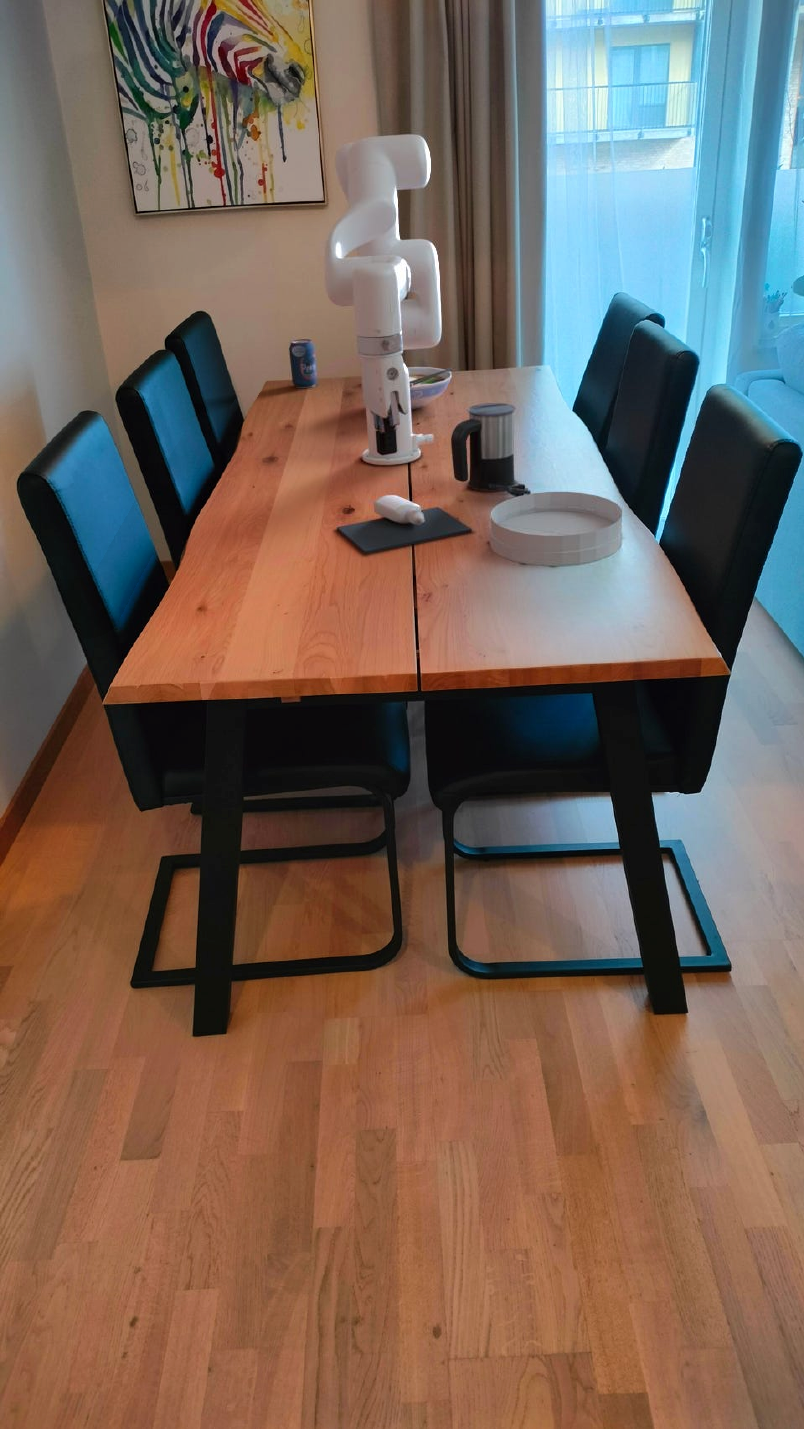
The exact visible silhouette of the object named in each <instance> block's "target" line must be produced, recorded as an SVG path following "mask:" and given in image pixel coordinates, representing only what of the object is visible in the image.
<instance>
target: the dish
mask: <svg viewBox="0 0 804 1429" xmlns="http://www.w3.org/2000/svg"><path fill="white" fill-rule="evenodd" d="M623 530H624V529H623V508H621V507H620V506H619V504H618V503H617V502H614V501H612V500H611V499H609V498H606V497H603V496H599V495H595V494H590V493H584V492H576V491H575V492H574V491H544V492H533V493H530V494H524V495H522V496H518V497H516V496H514V497H512V498H508V499H506V500H504V501H501V502H500V503H498V504H497V505H495V506H494V507H493V508H492V509H491V512H490V528H489V545H490V548H491V550H492V551H493V552H495V553H496V554H497V555H499V556H500V557H503V558H504V559H507V560H510V561H513V562H517V563H521V564H525V565H533V566H541V567H546V566H547V567H565V566H576V565H583V564H588V563H592V562H596V561H597V562H598V561H600V560H602V559H606V558H608V557H610V556H612V555H613V554H615V553H616V552H617V551H619V549H620V548H621V547H622V545H623Z"/></svg>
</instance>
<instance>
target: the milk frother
mask: <svg viewBox="0 0 804 1429" xmlns="http://www.w3.org/2000/svg"><path fill="white" fill-rule="evenodd" d="M515 411H516V406H514V405H512V404H509V403H502V402H487V403H480V404H475V405H472V406H469V407H468V408H467V412H468V413H469V416H468V417H469V418H468V419H466V420H463V421H460V422H459V423H458V424H457V425H456V426H455V427H454V429H453V431H452V432H451V437H450V446H451V458H452V468H453V469H452V470H453V477H454V479H455V480H456V481H459V482H462V483H463V482H468V486H469V487H470V488H472V489H475V490H478V491H484V492H487V491H488V492H493V491H501V492H506V493H508V494H510V495H512V496H513V497H518V496H522V495H528V494H531V490H530V489H529V487H526V484H524V483H518V484H516V483H517V481H516V479H515V454H514V453H515V450H514V449H515V423H514V422H515ZM468 438H469V462H468V448H467V440H468ZM468 464H469V465H468Z"/></svg>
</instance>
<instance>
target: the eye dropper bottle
mask: <svg viewBox="0 0 804 1429" xmlns="http://www.w3.org/2000/svg"><path fill="white" fill-rule="evenodd" d="M373 509H374V510H373V511H374V513H375V514H376V515H378V516H381V517H382V518H387V519H390V520H392V521H394V522H397V523H401V524H408V523H412V524H415V525H420V524H421V523H422V522H424V521H425V519H424V515H423V513H422V512H421V510H422V508H421V505H419V504H417V503H415V502H413V501H410V500H408V499H406V498H403V497H401V496H399V495H394V494H386V495H383V496H381V497H378V498H377V499H376V500H374V502H373Z"/></svg>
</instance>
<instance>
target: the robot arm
mask: <svg viewBox="0 0 804 1429" xmlns="http://www.w3.org/2000/svg"><path fill="white" fill-rule="evenodd" d="M430 155H431V154H430V150H429V147H428V144H427V142H426V140H425V138H424V137H423V136H421V135H419V134H415V133H414V134H413V133H412V134H411V133H409V134H408V133H407V134H395V135H392V134H389V135H379V136H377V135H376V136H368V137H364V138H360V139H359V140H357V141H352V142H349V143H345V144H343V145H341V146H339V147H338V149H337V150H336V152H335V157H334V165H335V171H336V175H337V178H338V182H339V185H340V187H341V190H342V192H343V194H344V196H345V197H344V198H345V199H346V201H347V204H348V209H347V210H346V211H345V212H344V213H343V214H342V215H341V216H340V218H339V219H338V220H337V221H336V223H335V224H334V225H333V227H332V228H331V229H330V232H329V234H328V235H327V238H326V242H325V246H324V283H325V290H326V294H327V297H328V298H329V301H330V302H331V303H332V304H334V305H335V306H339V307H354V309H353V310H354V329H355V336H356V346H357V356H358V357H360V368H361V369H360V370H361V372H360V376H361V381H362V382H361V391H362V393H361V394H362V401H363V405H364V407H365V416H366V427H367V429H366V430H367V442H368V448H367V449H365V450H363V452H362V453H361V457H362V458H361V459H362V460H363V461H364V462H365V463H367V464H370V465H376V466H394V465H403V464H408V463H411V462H414V461H416V460H417V459H419V458H420V457H421V449H420V447H421V446H422V445H429V444H430V445H431V444H433V443H434V442H435V437H434V435H433V433H430V434H423V433H418V434H416V433H414V432H413V423H412V410H411V402H410V384H409V373H408V370H407V368H408V367H407V366H406V364H405V362H404V359H403V355H402V354H403V353H404V351H406V350H408V351H409V350H422V349H423V350H424V349H430V348H434V347H436V346H437V345H438V344H439V343H440V341H441V338H442V331H443V330H442V327H443V326H442V325H443V324H442V304H441V285H440V284H441V282H440V269H439V268H440V267H439V258H438V253H437V249H436V247H435V245H434V244H433V242H431V241H430V240H427V239H424V238H413V239H401V238H400V232H399V207H398V191H401V190H402V191H403V190H418V189H423V188H425V187H426V186H427V185H428V182H429V180H430V175H431V156H430ZM354 250H356V256H350V257H346V256H347V255H348V254H349V253H351V252H352V251H354ZM408 293H414V294H416V295H417V297H418V298H409V299H406V297H407V294H408Z"/></svg>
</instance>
